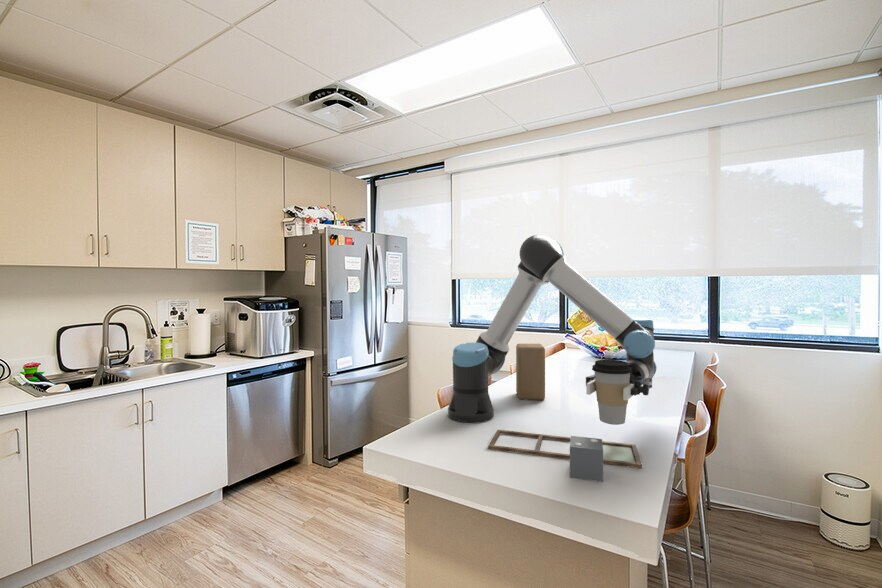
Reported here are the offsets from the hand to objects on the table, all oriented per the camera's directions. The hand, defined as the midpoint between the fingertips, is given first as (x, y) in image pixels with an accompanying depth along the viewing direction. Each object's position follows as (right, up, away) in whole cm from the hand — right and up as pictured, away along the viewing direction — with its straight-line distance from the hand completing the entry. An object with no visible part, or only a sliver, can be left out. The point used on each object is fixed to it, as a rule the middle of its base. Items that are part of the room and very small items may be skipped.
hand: (606, 391), depth 102 cm
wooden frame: (-8, -17, +8) cm, 21 cm away
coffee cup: (+3, -9, +4) cm, 10 cm away
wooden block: (-6, -16, +58) cm, 60 cm away
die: (-7, -17, -6) cm, 20 cm away
